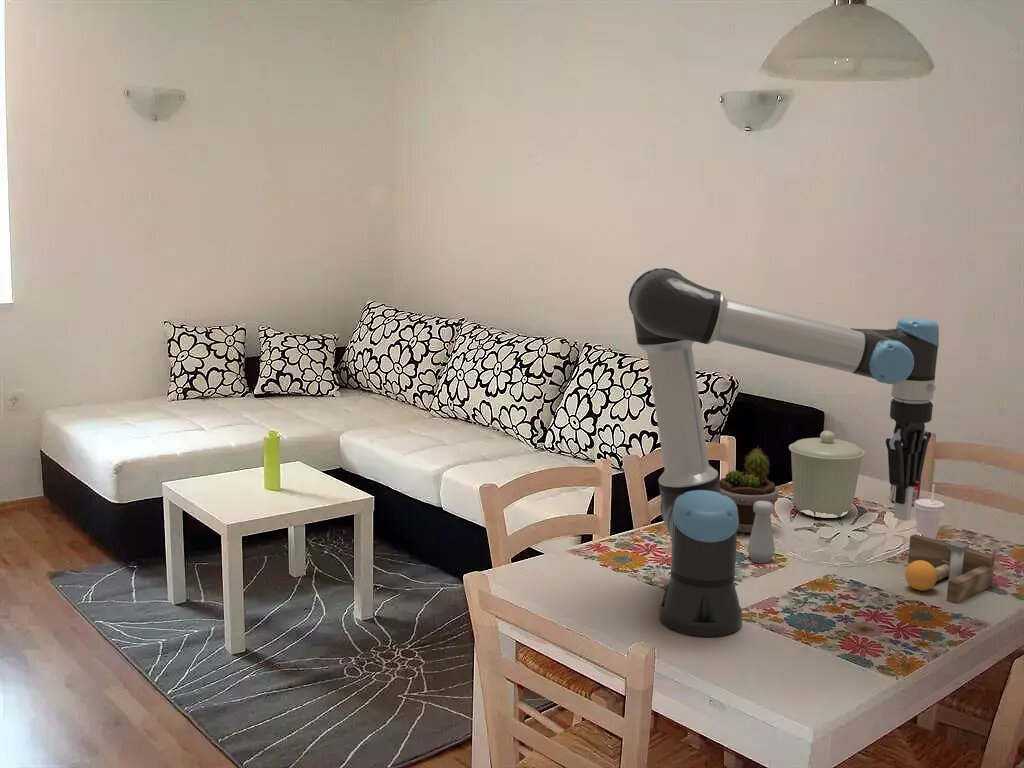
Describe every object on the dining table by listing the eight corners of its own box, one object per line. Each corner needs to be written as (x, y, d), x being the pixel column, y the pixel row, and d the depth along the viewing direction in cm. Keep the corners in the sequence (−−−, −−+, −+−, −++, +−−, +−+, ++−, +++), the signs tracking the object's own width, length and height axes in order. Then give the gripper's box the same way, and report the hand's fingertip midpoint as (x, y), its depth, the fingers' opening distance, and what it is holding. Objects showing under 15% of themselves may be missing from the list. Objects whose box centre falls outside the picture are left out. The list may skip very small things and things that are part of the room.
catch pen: (956, 603, 205) (959, 574, 204) (873, 577, 219) (875, 549, 217) (994, 584, 215) (997, 556, 214) (912, 560, 229) (915, 534, 228)
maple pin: (934, 574, 213) (956, 563, 218) (920, 570, 215) (942, 559, 221) (933, 588, 214) (955, 577, 219) (919, 584, 216) (941, 573, 221)
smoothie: (943, 549, 236) (949, 489, 234) (914, 547, 237) (919, 487, 235) (937, 539, 243) (942, 481, 240) (908, 538, 244) (913, 479, 241)
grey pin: (957, 589, 213) (961, 547, 211) (943, 584, 215) (947, 543, 213) (965, 585, 214) (969, 544, 213) (950, 581, 217) (954, 540, 215)
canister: (822, 528, 250) (828, 442, 246) (769, 508, 265) (774, 427, 261) (876, 518, 258) (882, 434, 254) (822, 499, 274) (827, 420, 270)
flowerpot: (746, 544, 238) (751, 458, 234) (699, 526, 250) (703, 444, 247) (790, 533, 246) (795, 450, 242) (742, 516, 258) (747, 437, 255)
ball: (946, 568, 211) (936, 596, 211) (920, 557, 215) (910, 584, 216) (932, 565, 207) (921, 594, 207) (905, 554, 212) (895, 582, 212)
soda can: (899, 497, 277) (902, 452, 274) (924, 503, 271) (928, 458, 269) (884, 501, 272) (888, 456, 270) (909, 508, 267) (913, 462, 265)
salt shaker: (772, 556, 230) (776, 499, 228) (776, 565, 225) (779, 506, 222) (745, 554, 231) (748, 497, 229) (748, 563, 225) (751, 505, 223)
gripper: (912, 407, 193) (902, 530, 197) (947, 398, 201) (937, 516, 206) (875, 400, 199) (866, 520, 203) (911, 392, 207) (901, 507, 211)
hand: (901, 518), depth 204 cm, fingers closed
